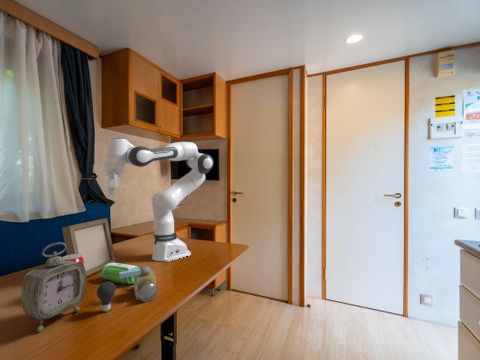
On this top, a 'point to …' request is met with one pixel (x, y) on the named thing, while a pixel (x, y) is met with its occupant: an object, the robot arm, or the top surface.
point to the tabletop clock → (53, 287)
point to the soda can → (74, 258)
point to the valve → (145, 286)
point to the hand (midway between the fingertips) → (110, 196)
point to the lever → (135, 272)
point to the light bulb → (106, 294)
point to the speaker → (117, 272)
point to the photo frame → (90, 244)
